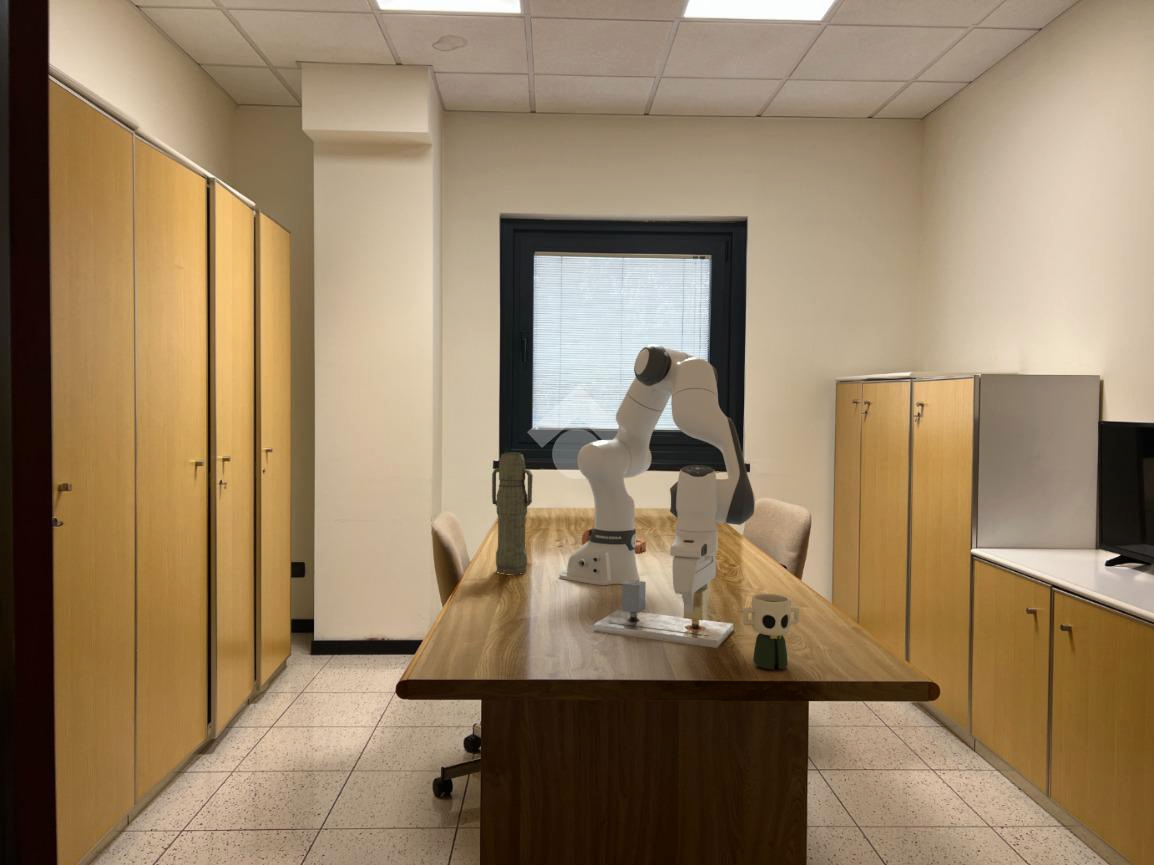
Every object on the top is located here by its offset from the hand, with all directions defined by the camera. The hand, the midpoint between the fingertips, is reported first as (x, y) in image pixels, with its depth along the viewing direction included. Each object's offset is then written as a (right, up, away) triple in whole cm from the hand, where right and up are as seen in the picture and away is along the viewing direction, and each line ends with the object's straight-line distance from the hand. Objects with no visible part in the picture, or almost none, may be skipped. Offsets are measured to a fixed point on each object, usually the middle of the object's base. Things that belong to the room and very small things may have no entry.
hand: (695, 607), depth 169 cm
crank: (-13, -3, +98) cm, 99 cm away
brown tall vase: (-44, -4, +61) cm, 75 cm away
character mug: (+11, -7, -20) cm, 24 cm away
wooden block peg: (0, -4, 0) cm, 4 cm away
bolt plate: (-6, -6, +3) cm, 9 cm away
